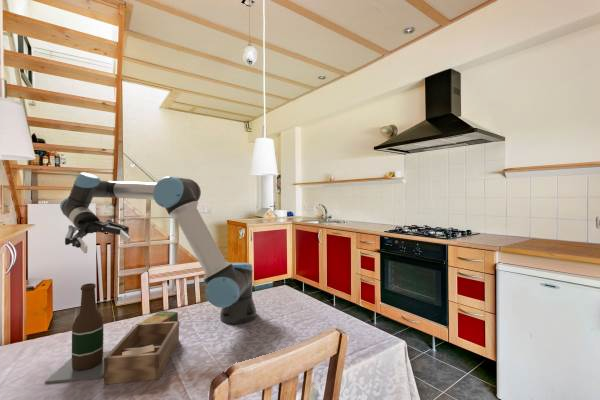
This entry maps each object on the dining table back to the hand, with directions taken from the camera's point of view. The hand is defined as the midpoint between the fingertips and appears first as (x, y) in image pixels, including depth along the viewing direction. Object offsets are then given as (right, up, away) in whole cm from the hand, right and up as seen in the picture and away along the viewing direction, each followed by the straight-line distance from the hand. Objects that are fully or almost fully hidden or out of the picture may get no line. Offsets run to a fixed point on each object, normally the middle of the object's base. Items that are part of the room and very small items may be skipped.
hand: (108, 245), depth 101 cm
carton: (+12, -35, +10) cm, 38 cm away
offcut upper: (+21, -31, -18) cm, 41 cm away
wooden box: (+20, -34, -12) cm, 41 cm away
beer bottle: (+4, -34, -15) cm, 37 cm away
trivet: (+4, -34, -15) cm, 38 cm away
